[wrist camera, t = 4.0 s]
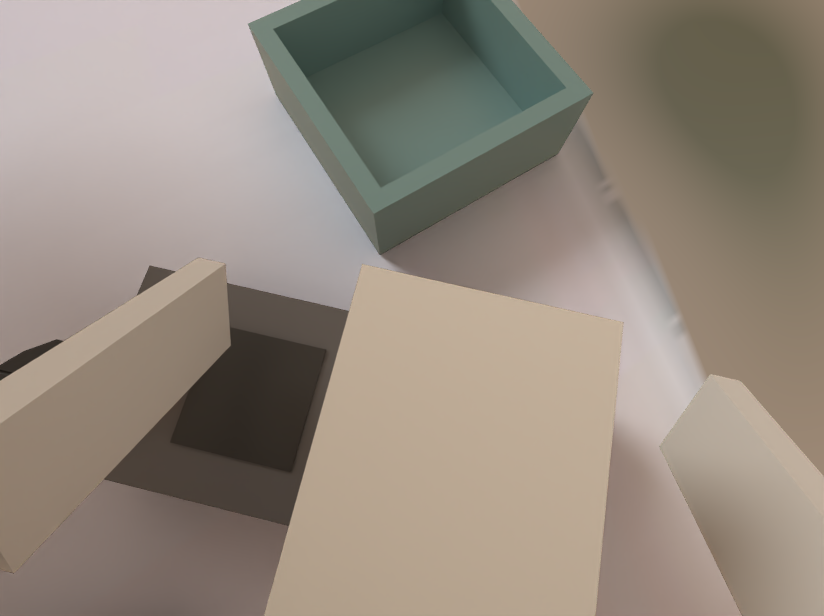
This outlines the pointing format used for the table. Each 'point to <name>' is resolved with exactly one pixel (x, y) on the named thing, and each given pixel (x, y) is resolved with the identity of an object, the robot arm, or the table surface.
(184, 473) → the power strip
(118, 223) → the table surface
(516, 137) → the tray
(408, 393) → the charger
